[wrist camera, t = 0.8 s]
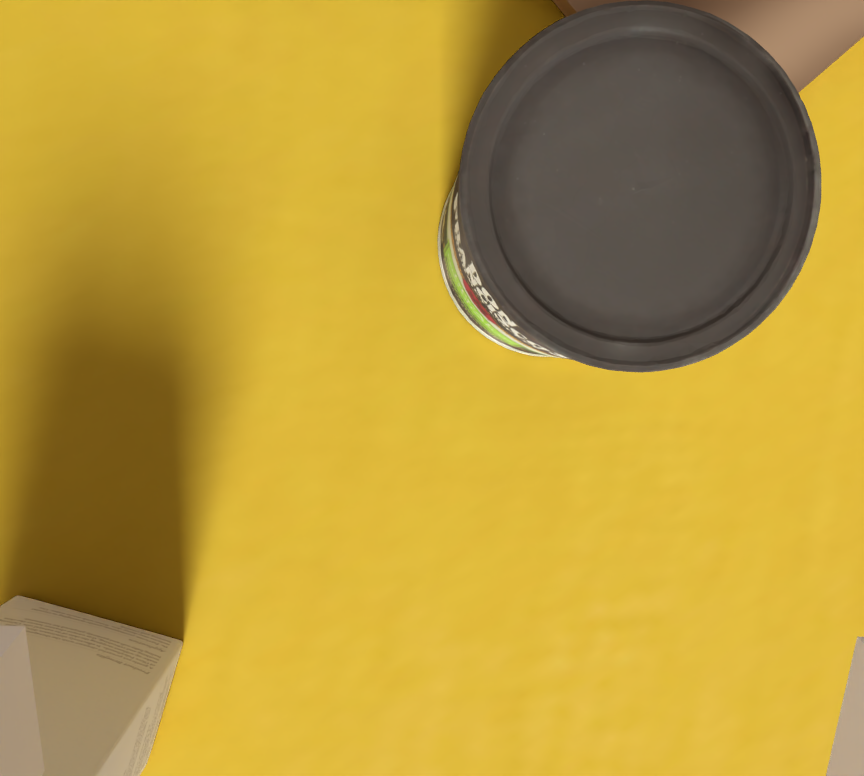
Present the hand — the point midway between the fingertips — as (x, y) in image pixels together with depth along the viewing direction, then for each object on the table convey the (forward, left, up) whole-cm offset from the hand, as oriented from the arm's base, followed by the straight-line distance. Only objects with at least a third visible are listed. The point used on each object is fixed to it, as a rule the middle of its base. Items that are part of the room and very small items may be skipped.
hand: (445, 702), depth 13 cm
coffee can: (-4, +11, -24) cm, 27 cm away
